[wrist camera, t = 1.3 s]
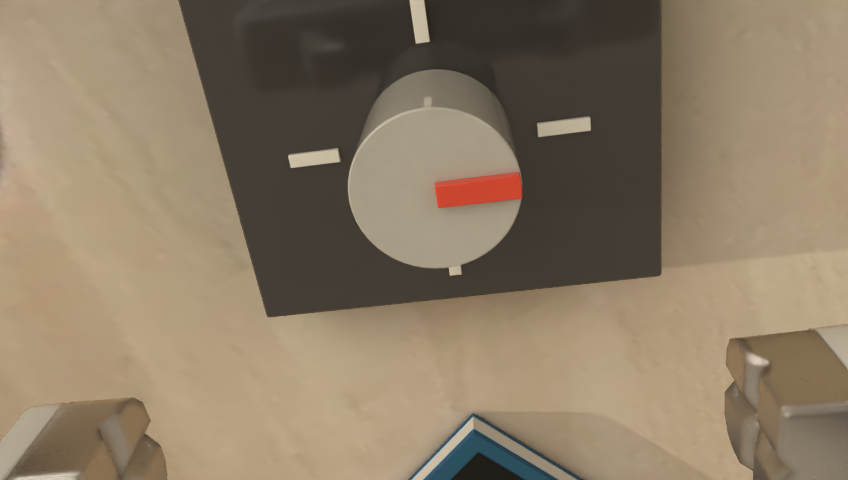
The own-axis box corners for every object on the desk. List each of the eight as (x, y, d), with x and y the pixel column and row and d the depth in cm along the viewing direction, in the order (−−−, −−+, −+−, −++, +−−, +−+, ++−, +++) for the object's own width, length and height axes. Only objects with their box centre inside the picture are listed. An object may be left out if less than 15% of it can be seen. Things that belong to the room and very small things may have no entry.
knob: (377, 217, 21) (362, 284, 18) (351, 79, 19) (329, 124, 16) (517, 200, 21) (530, 266, 17) (503, 58, 19) (515, 100, 15)
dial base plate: (165, -193, 19) (116, -204, 16) (631, -274, 18) (664, -301, 15) (286, 271, 25) (265, 321, 23) (638, 232, 24) (663, 280, 21)
